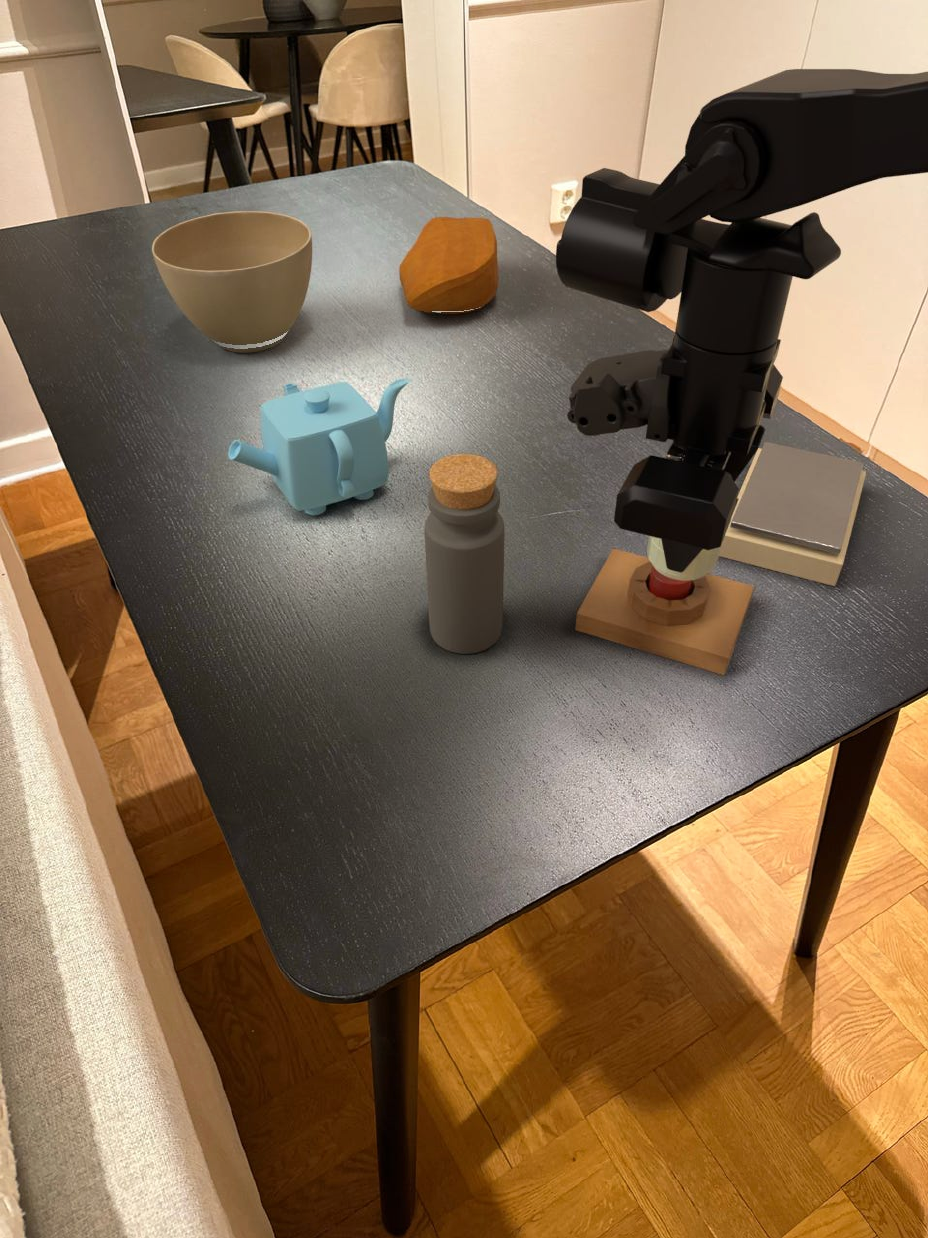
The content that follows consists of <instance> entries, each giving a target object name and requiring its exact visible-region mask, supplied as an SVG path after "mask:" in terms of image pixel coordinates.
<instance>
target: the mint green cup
mask: <svg viewBox="0 0 928 1238" xmlns="http://www.w3.org/2000/svg"><path fill="white" fill-rule="evenodd" d="M721 546H722V544H721ZM720 550H721V547H719V548H715V549H711V550H705V549H703V550H702V551H701V552H700V553H699V554H698V555H697V556H696V558H695V559H694V560H693V561H692V562H691V563H690V565H689V566H688V567H687V568H686V569H685V570H684V571H683V572H676V571H672V570H669V569H668V568H667V566H666V561H665V556H664V550H663V545H662V540H661V539H660V538H656V537H652V536H648V542H647V547H646V554H647V557H648V559H649V561H650V562H651V563H652V565H653V567H654V568H655V569H656V570H657V571H658V572H659V573H661V574H662V575H664V576H666V577H669V578H672V579H676V580H683V581H690V580H696V579H699V578H702V577H704V576H705V575H707V574H710V573H711V572H712V571H713V570H715V569H716V567H717V564H718V562H719V559H720V556H719V555H720Z"/></svg>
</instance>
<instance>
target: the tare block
mask: <svg viewBox="0 0 928 1238" xmlns="http://www.w3.org/2000/svg"><path fill="white" fill-rule="evenodd" d="M652 566H653V565H652V563H651V562H650V561H649V559H648V556H643V555H639V554H635V553H632V552H630V551H629V552H628V551H625V550H621V549H619V548H618V549H617V548H612V549H611V551H610V553H609V555H608V556H607V558H606V560H605V562H604V564H603V565H602V567H601V569H600V571H599V573H598V575H597V576H596V577H595V580H594V582H593V584H592V585H591V587H590V589H589V590H588V592H587V594H586V595H585V598H584V599H583V602H582V603H581V605H580V606H579V609H578V610H577V612H576V619H575V629H574V630H575V631H577V632H580V633H583V634H587V635H589V636H590V635H591V636H593V637H597V638H599V639H604V640H606V641H609V642H613V643H616V644H619V645H622V646H626V647H630V648H632V649H636V650H640V651H643V652H646V653H650V654H653V655H656V656H659V657H662V658H665V659H669V660H673V661H675V662H679V663H682V664H686V665H689V666H692V667H695V668H699V669H701V670H705V671H709V672H712V673H716V674H719V675H722V676H725V675H726V673H727V670H728V668H729V664H730V661H731V659H732V657H733V653H734V651H735V648H736V644H737V642H738V639H739V636H740V633H741V630H742V628H743V625H744V622H745V620H746V616H747V613H748V611H749V608H750V605H751V601H752V598H753V594H754V591H755V588H756V587H755V585H752V584H748V583H744V582H740V581H736V580H733V579H729V578H727V577H726V578H725V577H722V576H719V575H716V574H715V575H714V574H711V573H708V574H707V575H705V576H704V577H702V578H699V579H696V580H692V584H691V589H690V593H689V594H688V596H687V597H685V598H684V599H682V600H666V599H663V598H659V597H656V596H655V595H654V594H652V592H651V591H650V589H649V581H650V575H651V569H652Z"/></svg>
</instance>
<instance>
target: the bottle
mask: <svg viewBox="0 0 928 1238" xmlns="http://www.w3.org/2000/svg"><path fill="white" fill-rule="evenodd" d="M497 479H498V469H497V466H496V465H495V464H494V463H493V462H492V461H491V460H490V459H488V458H486V457H483V456H480V455H477V454H472V453H471V454H470V453H459V454H458V453H457V454H452V455H447V456H445V457H443V458H440V459H439V460H437V461H435V463H434V464H433V465H432V466H431V468H430V470H429V480H430V483H431V486H430V488H429V490H428V492H427V506H428V509H429V511H430V513H429V514H428V515H427V517H426V519H425V520H424V521H425V522H424V550H425V565H426V566H425V570H426V587H427V588H426V589H427V605H428V606H427V607H428V621H429V632H430V635H431V638H432V639H433V641H434V642H435V643H436V644H437V645H438V646H439V647H440V648H443V649H444V650H445V651H448V652H451V653H455V654H460V655H462V654H463V655H470V654H476V653H477V654H478V653H480V652H483V651H486V650H488V649H489V648H491V647H492V646H494V645H495V644H496V643H497V642H498V640H499V639H500V638H501V634H502V631H503V617H504V615H503V614H504V583H505V582H504V581H505V580H504V579H505V578H504V576H505V575H504V574H505V522H504V517H502V515H501V514H500V513H499V509H500V505H501V493H500V492H501V491H500V489H499V488H498V486H497V485H496V483H497Z"/></svg>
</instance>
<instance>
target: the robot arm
mask: <svg viewBox="0 0 928 1238" xmlns="http://www.w3.org/2000/svg"><path fill="white" fill-rule="evenodd" d="M918 174H928V71H923V72H917V73H884V72H877V71H869V70H862V69H856V68H855V69H854V68H793V69H791V68H790V69H785V70H783V71H780V72H777V73H774V74H771V75H770V76H767V77H765V78H761V79H760V80H757V81H754V82H752V83H749V84H747V85H745V86H742V87H740V88H737V89H734V90H732V91H729V92H726V93H724V94H722V95H720V96H717V97H715V98H712V99H711V100H710V101H709V102H707V103H706V104H705V105H704V106H702V108H700V111H699V114H698V115H697V117H696V118H695V120H694V122H693V123H692V125H691V127H690V129H689V133H688V136H687V139H686V142H685V146H684V155H683V157H682V158H681V159H680V160H679V162H677V164H676V165H675V166H674V167H673V169H672V170H671V171H670V172H669V173H668V174H667V176H666V177H665V178H664V179H663V180H662V181H661V183H655V182H652V181H647V180H643V179H639V178H635V177H632V176H629V175H628V174H626V173H624V172H622V171H619V170H615V169H611V168H607V167H603V168H600V169H598V170H595V171H593V172H591V173H588V174H586V175H585V176H583V178H582V181H581V182H582V183H581V196H580V198H579V199H578V200H577V202H576V203H575V204H574V206H573V207H572V209H571V211H570V213H569V215H568V217H567V218H566V221H565V224H564V226H563V230H562V232H561V236H560V239H559V240H558V241H557V243H556V250H555V267H556V272H557V275H558V276H557V277H558V278H559V280H560V282H561V283H562V285H564V286H565V287H566V288H570V289H573V290H575V291H579V292H581V293H585V294H589V295H592V296H594V297H597V298H600V299H601V298H602V299H604V300H607V301H611V302H614V303H618V304H621V305H623V306H627V307H630V308H632V309H636V310H640V311H641V312H642V311H643V312H646V313H651V312H655V311H656V310H658V309H660V307H661V306H663V305H664V304H665V303H666V301H668V300H674V299H675V298H677V297H678V296H679V295H680V297H679V304H678V312H677V317H676V325H675V330H674V335H673V338H672V342H671V345H670V347H669V348H668V349H659V350H654V349H647V350H641V351H636V352H635V351H634V352H629V353H623V354H618V355H617V354H616V355H612V356H605V357H600V358H597V359H595V360H592V361H591V362H589V363H588V364H587V365H586V366H585V367H584V368H583V370H582V371H581V373H580V374H579V375H578V376H577V378H576V379H575V380H574V382H573V383H572V384H571V386H570V392H571V393H570V394H569V396H568V400H569V405H570V406H569V411H568V412H567V420H568V421H569V422H571V423H572V424H575V425H576V428H577V430H578V431H579V432H580V433H581V434H583V435H584V436H587V437H588V436H589V437H593V436H594V437H595V436H600V435H606V434H615V433H616V434H617V433H619V431H620V430H629V429H637V428H642V427H645V426H646V432H645V439H647V440H650V441H656V442H660V443H666V442H667V441H668V440H670V441H671V440H672V442H671V444H670V446H669V448H668V450H667V451H666V457H662V456H657V455H652V454H649V455H648V456H647V457H645V458H643V459H642V460H640V461H638V462H636V463H635V464H633V466H632V468H631V470H630V471H629V473H628V474H627V476H626V478H625V480H624V482H623V484H622V485H621V487H620V489H619V491H618V492H617V494H616V501H615V507H614V517H613V522H614V523H615V524H616V525H617V527H618V528H619V529H620V530H624V531H628V532H631V533H637V534H639V535H643V536H648V537H649V536H652V537H656V538H660V539H661V540H662V545H663V550H664V556H665V561H666V566H667V568H668V569H669V570H672V571H676V572H683V571H684V570H685V569H686V568H687V567H688V566H689V565H690V563H691V562H692V561H693V560H694V559H695V558H696V556H697V555H698V554H699V553H700V552H701V551H702V550H703V549H705V550H711V549H715V548H719V547H721V544H722V542H723V539H724V537H725V534H726V531H727V529H728V526H729V524H730V521H731V518H732V515H733V512H734V510H735V507H736V505H737V502H738V499H737V497H738V495H739V492H740V487H739V486H738V485H737V484H736V482H737V480H738V478H739V477H740V476H741V474H742V472H743V471H744V470H745V469H746V467H747V466H748V464H749V463H750V462H751V460H752V459H753V458H754V457H755V455H756V452H757V450H758V448H760V445H761V443H762V440H763V437H764V435H765V432H766V428H765V427H764V426H763V425H761V421H762V419H768V420H771V418H772V416H773V413H774V411H775V408H776V405H777V403H778V400H779V396H780V390H781V388H782V384H783V383H782V382H783V380H784V376H783V375H782V374H781V372H780V371H779V370H778V368H777V366H776V365H775V363H776V360H777V358H778V353H779V351H780V346H781V342H782V339H779V337H780V332H781V328H782V325H783V320H784V316H785V311H786V306H787V303H788V299H789V294H790V291H791V290H790V289H791V286H792V281H793V277H794V278H797V279H801V280H810V279H812V278H813V277H815V275H817V274H819V273H820V272H821V271H823V270H825V269H826V268H827V267H828V266H830V265H831V264H833V263H834V262H836V261H838V259H839V258H840V257H841V256H842V255H841V254H842V249H841V247H840V246H839V244H838V243H837V242H836V240H835V239H834V238H833V236H832V235H831V234H829V233H828V231H827V230H826V229H825V228H824V226H823V223H822V222H821V218H820V214H819V213H818V212H815V211H813V212H810V213H808V214H807V215H805V216H804V217H802V218H800V219H799V220H797V221H795V222H793V224H789V223H785V222H780V221H775V220H771V219H766V218H764V217H767V216H770V215H773V214H777V213H780V212H783V211H787V210H790V209H794V208H797V207H801V206H804V205H806V204H810V203H812V202H815V201H818V200H820V199H823V198H826V197H829V196H831V195H834V194H837V193H841V192H842V191H846V190H848V189H851V188H854V187H857V186H860V185H863V184H866V183H871V182H873V181H876V180H880V179H884V178H893V177H902V176H910V175H918ZM708 216H709V217H710V218H712V219H714V220H717V221H719V222H716V221H712V220H707V219H704V218H706V217H708ZM728 223H730V224H728Z"/></svg>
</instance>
